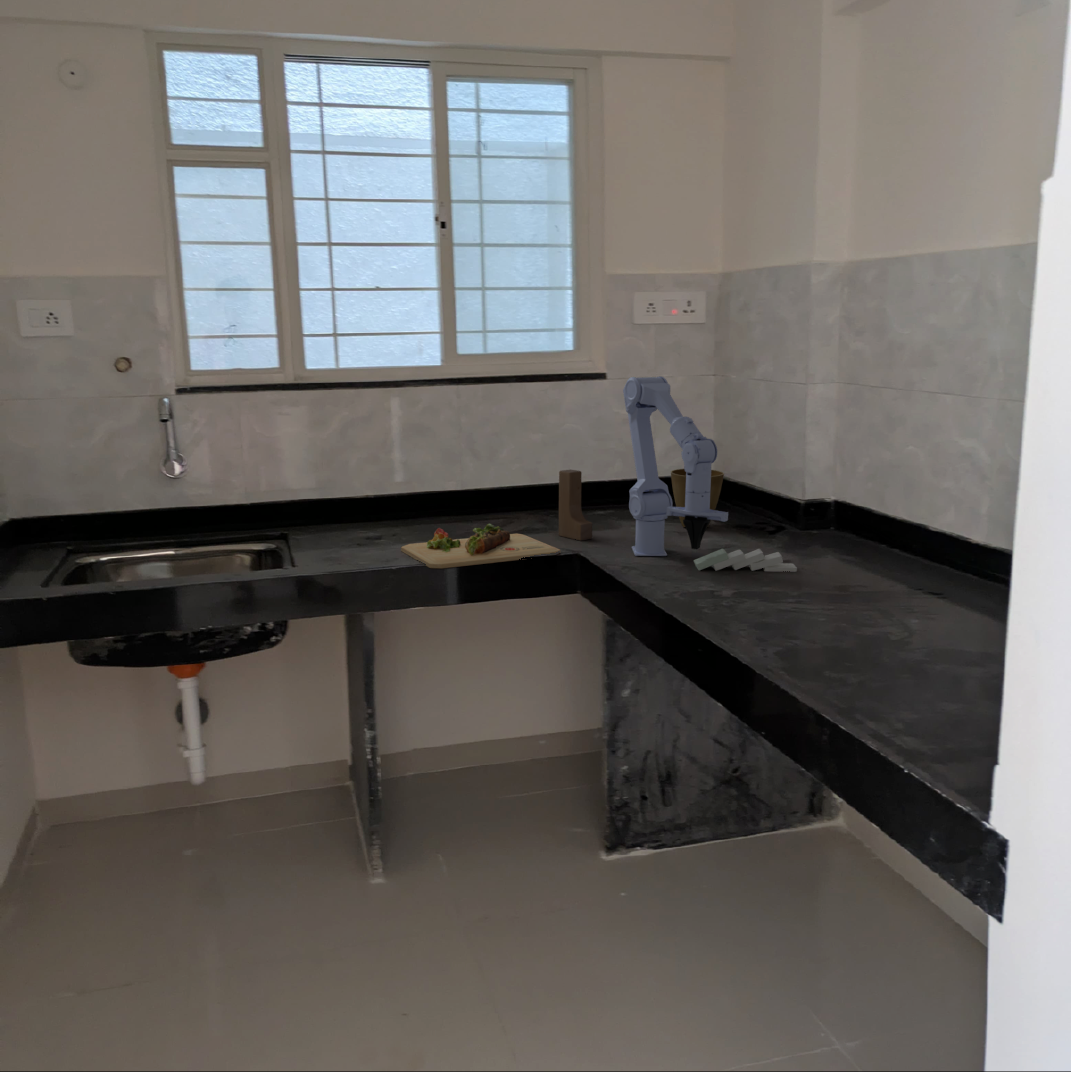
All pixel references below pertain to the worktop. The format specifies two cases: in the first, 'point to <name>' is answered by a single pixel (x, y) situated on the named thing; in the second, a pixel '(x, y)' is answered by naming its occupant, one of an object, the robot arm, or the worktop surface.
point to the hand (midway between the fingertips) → (695, 548)
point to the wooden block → (572, 507)
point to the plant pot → (680, 488)
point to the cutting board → (476, 548)
